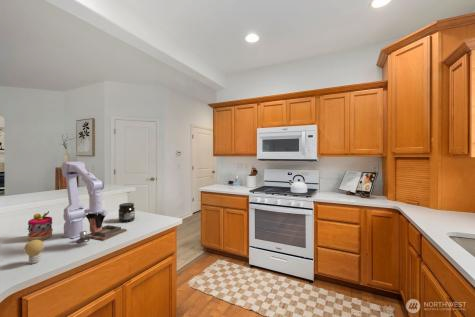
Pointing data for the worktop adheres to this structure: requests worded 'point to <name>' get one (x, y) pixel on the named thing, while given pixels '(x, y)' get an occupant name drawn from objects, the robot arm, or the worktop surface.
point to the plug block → (94, 225)
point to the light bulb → (34, 250)
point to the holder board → (106, 232)
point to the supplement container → (126, 212)
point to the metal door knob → (83, 237)
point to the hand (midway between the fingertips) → (95, 227)
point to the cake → (40, 227)
